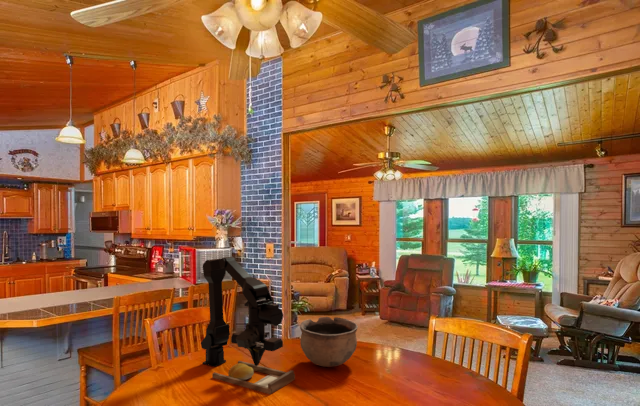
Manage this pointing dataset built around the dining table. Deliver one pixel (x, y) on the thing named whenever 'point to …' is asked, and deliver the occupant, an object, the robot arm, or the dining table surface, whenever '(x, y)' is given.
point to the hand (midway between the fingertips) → (256, 365)
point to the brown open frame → (264, 385)
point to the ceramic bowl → (328, 340)
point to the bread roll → (241, 371)
